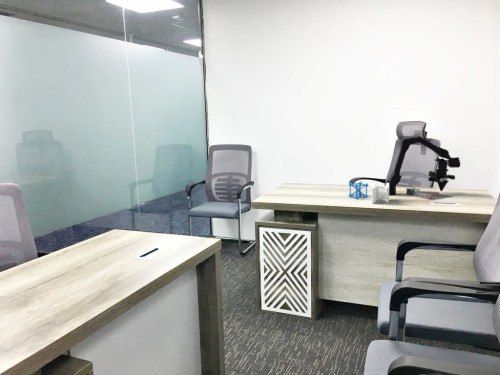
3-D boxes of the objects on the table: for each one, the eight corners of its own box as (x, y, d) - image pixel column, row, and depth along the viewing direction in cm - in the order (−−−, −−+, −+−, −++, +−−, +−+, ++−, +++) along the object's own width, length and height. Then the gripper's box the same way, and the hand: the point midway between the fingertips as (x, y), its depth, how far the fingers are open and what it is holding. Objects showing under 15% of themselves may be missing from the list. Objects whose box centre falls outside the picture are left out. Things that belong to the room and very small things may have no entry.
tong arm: (416, 194, 276) (416, 191, 275) (416, 194, 277) (416, 190, 277) (438, 196, 269) (438, 192, 268) (439, 195, 270) (439, 191, 270)
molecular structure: (347, 196, 280) (347, 182, 278) (360, 195, 283) (360, 181, 281) (355, 199, 271) (355, 184, 269) (368, 198, 273) (369, 183, 272)
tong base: (406, 194, 278) (406, 187, 278) (412, 193, 281) (412, 186, 280) (429, 199, 261) (429, 191, 260) (435, 198, 263) (435, 190, 262)
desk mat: (432, 201, 257) (432, 200, 257) (402, 194, 280) (402, 193, 280) (454, 197, 266) (454, 196, 265) (423, 191, 288) (423, 190, 288)
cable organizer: (388, 204, 252) (389, 186, 250) (371, 204, 255) (371, 185, 253) (388, 199, 266) (389, 182, 264) (372, 199, 269) (372, 182, 267)
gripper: (442, 165, 282) (441, 187, 285) (422, 167, 275) (421, 190, 277) (456, 167, 272) (455, 190, 275) (436, 169, 265) (435, 193, 267)
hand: (441, 190), depth 274 cm, fingers closed
